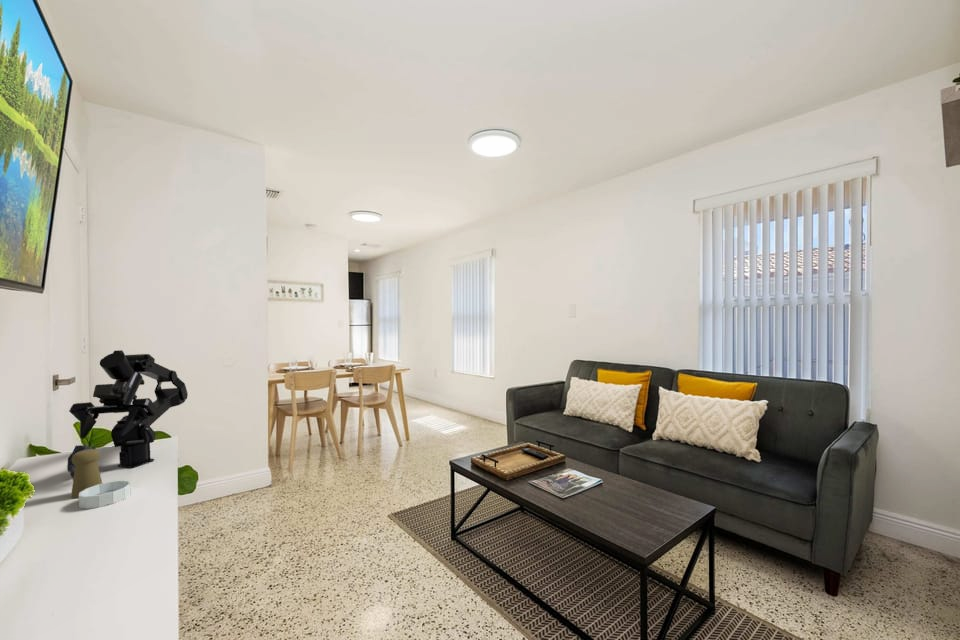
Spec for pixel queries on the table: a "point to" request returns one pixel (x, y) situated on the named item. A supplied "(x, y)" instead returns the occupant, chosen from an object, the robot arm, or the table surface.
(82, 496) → the bowl
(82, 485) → the cork
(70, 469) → the stone
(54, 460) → the table surface
